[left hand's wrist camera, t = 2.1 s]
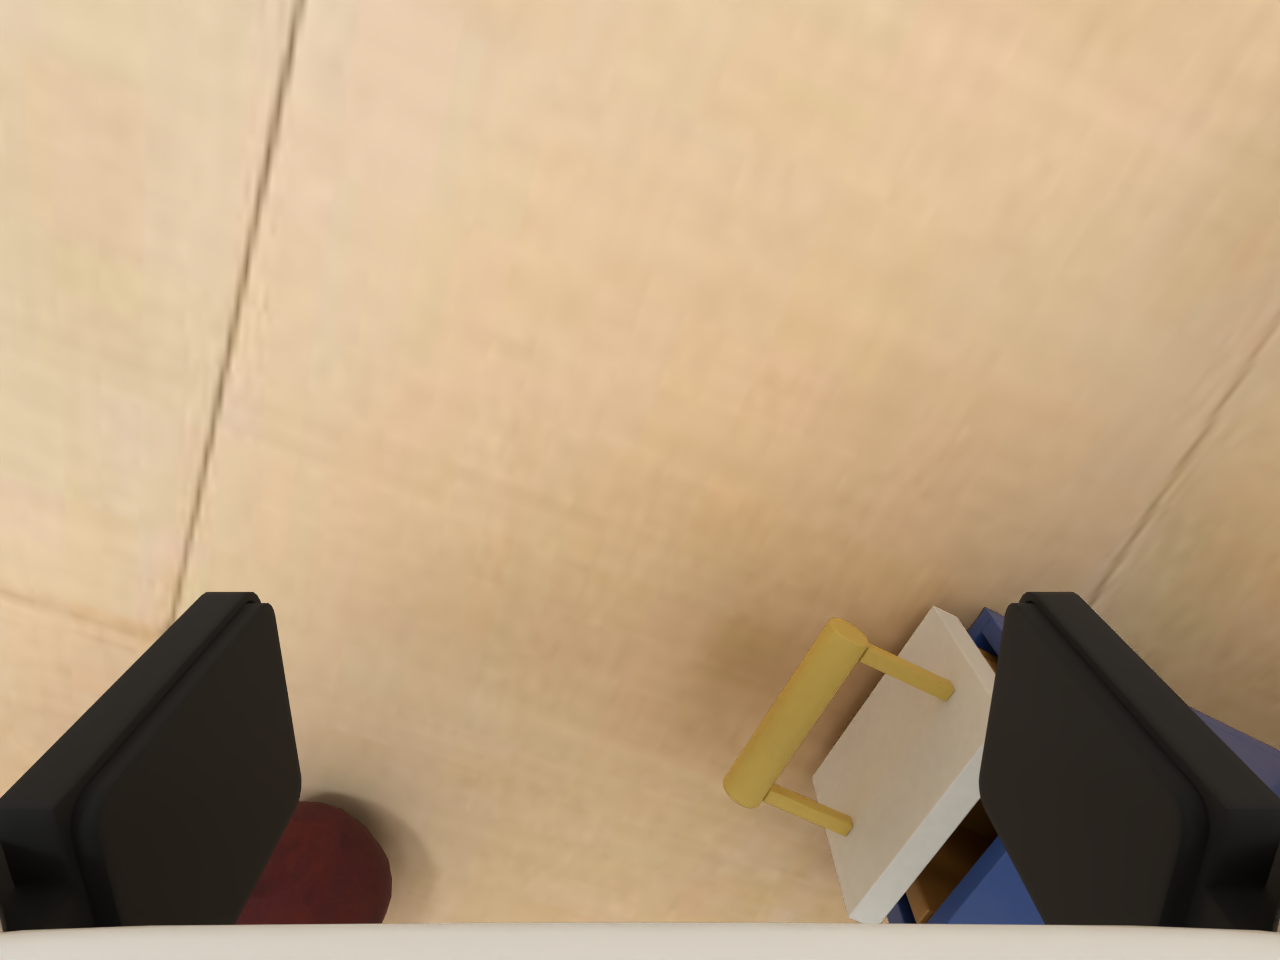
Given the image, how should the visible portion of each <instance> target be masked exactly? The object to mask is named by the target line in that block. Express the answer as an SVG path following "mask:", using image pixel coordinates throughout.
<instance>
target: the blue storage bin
mask: <svg viewBox="0 0 1280 960" xmlns="http://www.w3.org/2000/svg"><path fill="white" fill-rule="evenodd" d="M1004 618H1005V617H1004V616H1002V615H1000V614H998V613H996V612H994V611H992V610H990V609H988V608H986V607H985V608H984V609H983V611H982V613H981V614H980V616H979V617H978V618H977V620H976V621H975V622H974V624H973V625H972V627H971V628H970V629H969V631H968V632H967V633H968V634H969V636H970V637H971V639H972V640H973V642H974V643H975V645H976V646H977V648H980V649H982V650H984V651H986V652H988V653H990V654H992V655H995V656H997V657H998V655H999V649H1000V643H1001V636H1002V630H1003V624H1004ZM1190 708H1191V707H1190ZM1191 709H1192V710H1193V711H1194V712H1195V713H1196V714H1197V715H1198V716H1199V717H1200V718H1201V719H1202V720H1203V721H1204V722H1205V723H1206V725H1207V726H1208V727H1209V728H1210V729H1211V730H1212V731H1213V732H1214V733H1215V734H1216V735H1217V736H1218V737H1219V738H1220V739H1221V740H1222V741H1223V742H1224V743H1225V744H1226V745H1227V746H1228V747H1229V748H1230V749H1231V750H1232V751H1233V752H1234V753H1235V754H1236V755H1237V756H1238V757H1239V758H1240V759H1241V760H1242V761H1243V762H1244V763H1245V764H1246V765H1247V766H1248V767H1249V768H1250V769H1251V770H1252V771H1253V772H1254V773H1255V774H1256V775H1257V776H1258V777H1259V778H1260V779H1261V780H1262V781H1263V782H1264V783H1265V784H1266V785H1267V786H1268V787H1269V788H1270V789H1271V790H1272V791H1273V792H1274V793H1275V794H1276V795H1277V796H1278V797H1279V798H1280V751H1279V750H1277V749H1275V748H1273V747H1271V746H1269V745H1267V744H1265V743H1262V742H1260V741H1258V740H1256V739H1254V738H1252V737H1250V736H1248V735H1246V734H1244V733H1242V732H1240V731H1238V730H1236V729H1234V728H1232V727H1230V726H1228V725H1226V724H1224V723H1221V722H1219V721H1217V720H1215V719H1213V718H1211V717H1209V716H1207V715H1205V714H1203V713H1201V712H1199V711H1197V710H1195V709H1193V708H1191ZM887 918H888V921H889V924H917V923H916V921H915V918H914V915H913V912H912V909H911V906H910V903H909V901H908V898H907V895H906V892H905V893H904V894H903V896H902V897H901V898H900V899H899V901H898V902H897V903H896V905H895V906H894V907H893V908H892V910H891V911H890V912H889V913H888V915H887ZM926 924H998V925H1045V924H1044V922H1043V920H1042V918H1041V916H1040V914H1039V912H1038V910H1037V908H1036V906H1035V904H1034V903H1033V901H1032V899H1031V897H1030V895H1029V893H1028V891H1027V889H1026V887H1025V885H1024V884H1023V882H1022V880H1021V878H1020V876H1019V874H1018V872H1017V870H1016V868H1015V866H1014V864H1013V863H1012V861H1011V859H1010V857H1009V855H1008V853H1007V851H1006V849H1005V847H1004V845H1003V844H1002V842H1001V840H1000V838H999V836H997V838H996V839H995V840H994V841H993V842H992V844H991V845H990V846H989V847H988V849H987V850H986V851H985V852H984V853H983V855H982V856H981V857H980V858H979V860H978V861H977V862H976V863H975V864H974V866H973V867H972V868H971V869H970V871H969V872H968V873H967V874H966V875H965V877H964V878H963V879H962V880H961V882H960V883H959V884H958V885H957V886H956V888H955V889H954V890H953V891H952V893H951V894H950V895H949V896H948V897H947V899H946V900H945V901H944V902H943V904H942V905H941V906H940V907H939V908H938V910H937V911H936V912H935V913H934V915H933V916H932V917H931V918H930V919H929V921H928V922H927V923H926Z"/></svg>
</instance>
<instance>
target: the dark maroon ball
mask: <svg viewBox="0 0 1280 960" xmlns="http://www.w3.org/2000/svg"><path fill="white" fill-rule="evenodd" d="M391 890H392V877H391V872H390V866H389V861H388V858H387V856H386V855H385V853H384V851H383V849H382V847H381V846H380V845H379V843H378V842H377V841H376V839H375V838H374V837H373V835H372V834H371V833H370V832H369V830H368V829H367V828H366V827H365V826H364V825H362V824H361V823H360V822H358V821H357V820H356V819H354V818H353V817H352V816H350V815H349V814H348V813H346V812H345V811H344V810H342V809H339V808H336V807H334V806H331V805H328V804H324V803H316V802H301V801H298V804H297V807H296V809H295V811H294V813H293V815H292V817H291V819H290V821H289V823H288V824H287V826H286V828H285V830H284V832H283V834H282V836H281V838H280V840H279V842H278V844H277V845H276V847H275V849H274V851H273V853H272V855H271V857H270V859H269V861H268V863H267V864H266V866H265V868H264V870H263V872H262V874H261V876H260V878H259V880H258V882H257V884H256V885H255V887H254V889H253V891H252V893H251V895H250V897H249V899H248V901H247V903H246V904H245V906H244V908H243V910H242V912H241V914H240V916H239V918H238V920H237V922H236V924H235V925H282V924H382V922H383V919H384V917H385V915H386V912H387V909H388V906H389V902H390V899H391Z"/></svg>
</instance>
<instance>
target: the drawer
mask: <svg viewBox="0 0 1280 960" xmlns="http://www.w3.org/2000/svg"><path fill="white" fill-rule="evenodd" d="M858 660H859V661H860V662H861V663H864V664H866V665H868V666H870V667H872V668H874V669H877V670H879V671H881V672H883V673H885V674H884V676H883V677H882V679H881V680H880V682H879V683H878V684H877V686H876V687H875V689H874V690H873V691H872V693H871V694H870V696H869V697H868V699H867V700H866V701H865V703H864V704H863V706H862V707H861V708H860V710H859V711H858V713H857V714H856V716H855V717H854V718H853V720H852V721H851V723H850V724H849V725H848V727H847V728H846V730H845V731H844V733H843V734H842V735H841V737H840V738H839V740H838V741H837V743H836V744H835V745H834V747H833V748H832V750H831V751H830V752H829V754H828V755H827V757H826V758H825V760H824V761H823V762H822V764H821V765H820V767H819V768H818V769H817V771H816V772H815V774H814V775H813V777H812V781H813V785H814V789H815V792H816V796H817V800H818V802H816V801H813V800H811V799H809V798H806V797H804V796H802V795H799V794H797V793H795V792H792V791H790V790H788V789H786V788H783V787H781V786H779V785H776V784H774V782H775V781H776V780H777V778H778V777H779V775H780V774H781V772H782V771H783V769H784V768H785V766H786V765H787V764H788V762H789V761H790V759H791V758H792V756H793V755H794V753H795V752H796V750H797V749H798V748H799V746H800V745H801V743H802V742H803V740H804V739H805V737H806V736H807V735H808V733H809V732H810V730H811V729H812V727H813V726H814V724H815V723H816V721H817V720H818V719H819V717H820V716H821V714H822V713H823V711H824V710H825V708H826V707H827V705H828V704H829V703H830V701H831V700H832V698H833V697H834V695H835V694H836V692H837V691H838V689H839V688H840V687H841V685H842V684H843V682H844V681H845V679H846V678H847V676H848V675H849V674H850V672H851V671H852V669H853V668H854V666H855V665H856V663H857V662H858ZM997 661H998V657H997V656H995V655H992V654H990V653H988V652H986V651H984V650H982V649H980V648H977V646H976V645H975V643H974V642H973V640H972V639H971V637H970V636H969V634H968V633H967V631H966V630H965V628H964V627H963V625H962V624H961V622H960V621H959V619H958V618H957V617H956V616H954V615H952V614H950V613H948V612H946V611H944V610H942V609H940V608H938V607H936V606H932V608H931V609H930V611H929V612H928V613H927V615H926V616H925V618H924V619H923V621H922V622H921V623H920V625H919V626H918V628H917V629H916V630H915V632H914V633H913V635H912V636H911V638H910V639H909V640H908V642H907V643H906V645H905V646H904V647H903V649H902V650H901V652H900V653H899V655H898V656H896V655H894V654H891V653H889V652H887V651H885V650H883V649H881V648H879V647H877V646H874V645H872V644H870V643H869V641H868V639H867V638H866V636H865V635H864V634H863V633H862V632H861V631H860V630H859V629H857V628H856V627H855V626H853V625H852V624H850V623H848V622H846V621H844V620H842V619H839V618H831V619H830V620H829V621H828V623H827V624H826V626H825V627H824V629H823V630H822V632H821V633H820V635H819V636H818V638H817V639H816V641H815V642H814V644H813V645H812V647H811V648H810V650H809V651H808V653H807V654H806V656H805V657H804V659H803V660H802V662H801V663H800V665H799V666H798V668H797V669H796V671H795V672H794V674H793V675H792V677H791V678H790V680H789V681H788V683H787V684H786V686H785V687H784V689H783V690H782V692H781V693H780V695H779V697H778V698H777V700H776V701H775V703H774V704H773V706H772V707H771V709H770V710H769V712H768V713H767V715H766V716H765V718H764V719H763V721H762V722H761V724H760V725H759V727H758V728H757V730H756V731H755V733H754V734H753V736H752V737H751V739H750V740H749V742H748V743H747V745H746V746H745V748H744V749H743V751H742V752H741V754H740V755H739V757H738V758H737V760H736V761H735V763H734V764H733V766H732V767H731V769H730V770H729V772H728V773H727V775H726V776H725V778H724V781H723V786H724V789H725V791H726V793H727V794H728V795H729V796H730V798H731V799H733V800H734V801H735V802H736V803H738V804H739V805H741V806H744V807H746V808H755V807H757V806H758V805H759V804H760V803H761V801H762V800H763V801H764V802H765V803H768V804H770V805H772V806H775V807H777V808H779V809H782V810H784V811H786V812H789V813H791V814H793V815H796V816H798V817H800V818H803V819H805V820H807V821H810V822H812V823H814V824H817V825H819V826H821V827H824V828H825V830H826V834H827V838H828V842H829V845H830V849H831V853H832V857H833V861H834V864H835V868H836V872H837V876H838V880H839V883H840V887H841V891H842V895H843V899H844V902H845V906H846V910H847V914H848V917H849V918H851V919H853V920H855V921H858V922H860V923H878V924H880V923H881V922H882V921H883V920H884V918H885V917H886V916H887V915H888V913H889V912H890V911H891V910H892V908H893V907H894V906H895V905H896V903H897V902H898V901H899V899H900V898H901V897H902V896H903V894H904V893H905V892H906V895H907V898H908V901H909V903H910V906H911V909H912V912H913V915H914V918H915V921H916V923H917V924H926V923H927V922H928V921H929V919H930V918H931V917H932V916H933V915H934V913H935V912H936V911H937V910H938V908H939V907H940V906H941V905H942V904H943V902H944V901H945V900H946V899H947V897H948V896H949V895H950V894H951V893H952V891H953V890H954V889H955V888H956V886H957V885H958V884H959V883H960V882H961V880H962V879H963V878H964V877H965V875H966V874H967V873H968V872H969V871H970V869H971V868H972V867H973V866H974V864H975V863H976V862H977V861H978V860H979V858H980V857H981V856H982V855H983V853H984V852H985V851H986V850H987V849H988V847H989V846H990V845H991V844H992V842H993V841H994V840H995V839H996V838H997V836H998V834H997V832H996V830H995V828H994V826H993V824H992V823H991V821H990V819H989V817H988V815H987V813H986V811H985V809H984V807H983V804H982V801H981V798H980V792H979V773H980V767H981V760H982V754H983V748H984V742H985V736H986V729H987V723H988V717H989V711H990V705H991V698H992V692H993V686H994V680H995V674H996V667H997Z"/></svg>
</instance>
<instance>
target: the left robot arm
mask: <svg viewBox="0 0 1280 960" xmlns="http://www.w3.org/2000/svg"><path fill="white" fill-rule="evenodd" d="M300 792H301V773H300V767H299V760H298V754H297V748H296V742H295V736H294V729H293V723H292V717H291V711H290V705H289V698H288V692H287V686H286V680H285V674H284V667H283V661H282V655H281V649H280V643H279V636H278V630H277V624H276V618H275V613H274V610H273V608H272V606H271V605H270V604H269V603H261V601H260V599H259V598H258V596H257V595H256V594H255V593H254V592H206V593H204V594H203V595H201V596H200V597H199V598H198V599H197V600H196V601H195V602H194V603H193V604H192V605H191V606H190V607H189V608H188V609H187V611H186V612H185V613H184V614H183V615H182V616H181V617H180V618H179V619H178V620H177V621H176V622H175V623H174V624H173V625H172V626H171V627H170V628H169V629H168V630H167V631H166V632H165V633H164V634H163V635H162V636H161V637H160V638H159V639H158V640H157V641H156V642H155V643H154V644H153V645H152V646H151V647H150V648H149V649H148V650H147V651H146V652H145V653H144V654H143V655H142V656H141V657H140V658H139V659H138V660H137V661H136V662H135V663H134V664H133V665H132V666H131V667H130V668H129V669H128V670H127V671H126V672H125V673H124V674H123V675H122V676H121V677H120V678H119V679H118V680H117V681H116V682H115V683H114V684H113V685H112V686H111V687H110V688H109V689H108V690H107V691H106V692H105V693H104V694H103V695H102V696H101V697H100V698H99V699H98V700H97V701H96V702H95V703H94V704H93V705H92V706H91V707H90V708H89V709H88V710H87V711H86V712H85V713H84V714H83V715H82V716H81V717H80V718H79V719H78V720H77V721H76V722H75V723H74V725H73V726H72V727H71V728H70V729H69V730H68V731H67V732H66V733H65V734H64V735H63V736H62V737H61V738H60V739H59V740H58V741H57V742H56V743H55V744H54V745H53V746H52V747H51V748H50V749H49V750H48V751H47V752H46V753H45V754H44V755H43V756H42V757H41V758H40V759H39V760H38V761H37V762H36V763H35V764H34V765H33V766H32V767H31V768H30V769H29V770H28V771H27V772H26V773H25V774H24V775H23V776H22V777H21V778H20V779H19V780H18V781H17V782H16V783H15V784H14V785H13V786H12V787H11V788H10V789H9V790H8V791H7V792H6V793H5V794H4V795H3V796H2V797H1V798H0V960H1280V798H1279V797H1278V796H1277V795H1276V794H1275V793H1274V792H1273V791H1272V790H1271V789H1270V788H1269V787H1268V786H1267V785H1266V784H1265V783H1264V782H1263V781H1262V780H1261V779H1260V778H1259V777H1258V776H1257V775H1256V774H1255V773H1254V772H1253V771H1252V770H1251V769H1250V768H1249V767H1248V766H1247V765H1246V764H1245V763H1244V762H1243V761H1242V760H1241V759H1240V758H1239V757H1238V756H1237V755H1236V754H1235V753H1234V752H1233V751H1232V750H1231V749H1230V748H1229V747H1228V746H1227V745H1226V744H1225V743H1224V742H1223V741H1222V740H1221V739H1220V738H1219V737H1218V736H1217V735H1216V734H1215V733H1214V732H1213V731H1212V730H1211V729H1210V728H1209V727H1208V726H1207V725H1206V723H1205V722H1204V721H1203V720H1202V719H1201V718H1200V717H1199V716H1198V715H1197V714H1196V713H1195V712H1194V711H1193V710H1192V709H1191V708H1190V707H1189V706H1188V705H1187V704H1186V703H1185V702H1184V701H1183V700H1182V699H1181V698H1180V697H1179V696H1178V695H1177V694H1176V693H1175V692H1174V691H1173V690H1172V689H1171V688H1170V687H1169V686H1168V685H1167V684H1166V683H1165V682H1164V681H1163V680H1162V679H1161V678H1160V677H1159V676H1158V675H1157V674H1156V673H1155V672H1154V671H1153V670H1152V669H1151V668H1150V667H1149V666H1148V665H1147V664H1146V663H1145V662H1144V661H1143V660H1142V659H1141V658H1140V657H1139V656H1138V655H1137V654H1136V653H1135V652H1134V651H1133V650H1132V649H1131V648H1130V647H1129V646H1128V645H1127V644H1126V643H1125V642H1124V641H1123V640H1122V639H1121V638H1120V637H1119V636H1118V635H1117V634H1116V633H1115V632H1114V631H1113V630H1112V629H1111V628H1110V627H1109V626H1108V625H1107V624H1106V623H1105V622H1104V621H1103V620H1102V619H1101V618H1100V617H1099V616H1098V615H1097V614H1096V613H1095V612H1094V611H1093V609H1092V608H1091V607H1090V606H1089V605H1088V604H1087V603H1086V602H1085V601H1084V600H1083V599H1082V598H1081V597H1080V596H1079V595H1077V594H1076V593H1074V592H1026V593H1025V594H1024V595H1023V596H1022V598H1021V599H1020V601H1019V603H1011V604H1010V605H1009V606H1008V608H1007V610H1006V613H1005V618H1004V624H1003V630H1002V636H1001V643H1000V649H999V655H998V661H997V667H996V674H995V680H994V686H993V692H992V698H991V705H990V711H989V717H988V723H987V729H986V736H985V742H984V748H983V754H982V760H981V767H980V773H979V792H980V798H981V801H982V804H983V807H984V809H985V811H986V813H987V815H988V817H989V819H990V821H991V823H992V824H993V826H994V828H995V830H996V832H997V834H998V836H999V838H1000V840H1001V842H1002V844H1003V845H1004V847H1005V849H1006V851H1007V853H1008V855H1009V857H1010V859H1011V861H1012V863H1013V864H1014V866H1015V868H1016V870H1017V872H1018V874H1019V876H1020V878H1021V880H1022V882H1023V884H1024V885H1025V887H1026V889H1027V891H1028V893H1029V895H1030V897H1031V899H1032V901H1033V903H1034V904H1035V906H1036V908H1037V910H1038V912H1039V914H1040V916H1041V918H1042V920H1043V922H1044V924H1045V925H998V924H878V923H722V922H593V923H402V924H282V925H235V924H236V922H237V920H238V918H239V916H240V914H241V912H242V910H243V908H244V906H245V904H246V903H247V901H248V899H249V897H250V895H251V893H252V891H253V889H254V887H255V885H256V884H257V882H258V880H259V878H260V876H261V874H262V872H263V870H264V868H265V866H266V864H267V863H268V861H269V859H270V857H271V855H272V853H273V851H274V849H275V847H276V845H277V844H278V842H279V840H280V838H281V836H282V834H283V832H284V830H285V828H286V826H287V824H288V823H289V821H290V819H291V817H292V815H293V813H294V811H295V809H296V807H297V804H298V801H299V798H300Z"/></svg>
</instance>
